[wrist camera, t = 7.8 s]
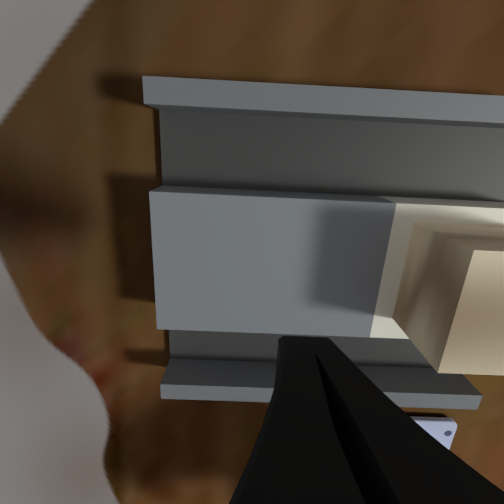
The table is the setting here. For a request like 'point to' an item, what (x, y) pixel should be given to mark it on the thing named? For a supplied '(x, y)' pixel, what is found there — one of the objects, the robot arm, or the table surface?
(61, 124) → the table surface
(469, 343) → the maple block
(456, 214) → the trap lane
